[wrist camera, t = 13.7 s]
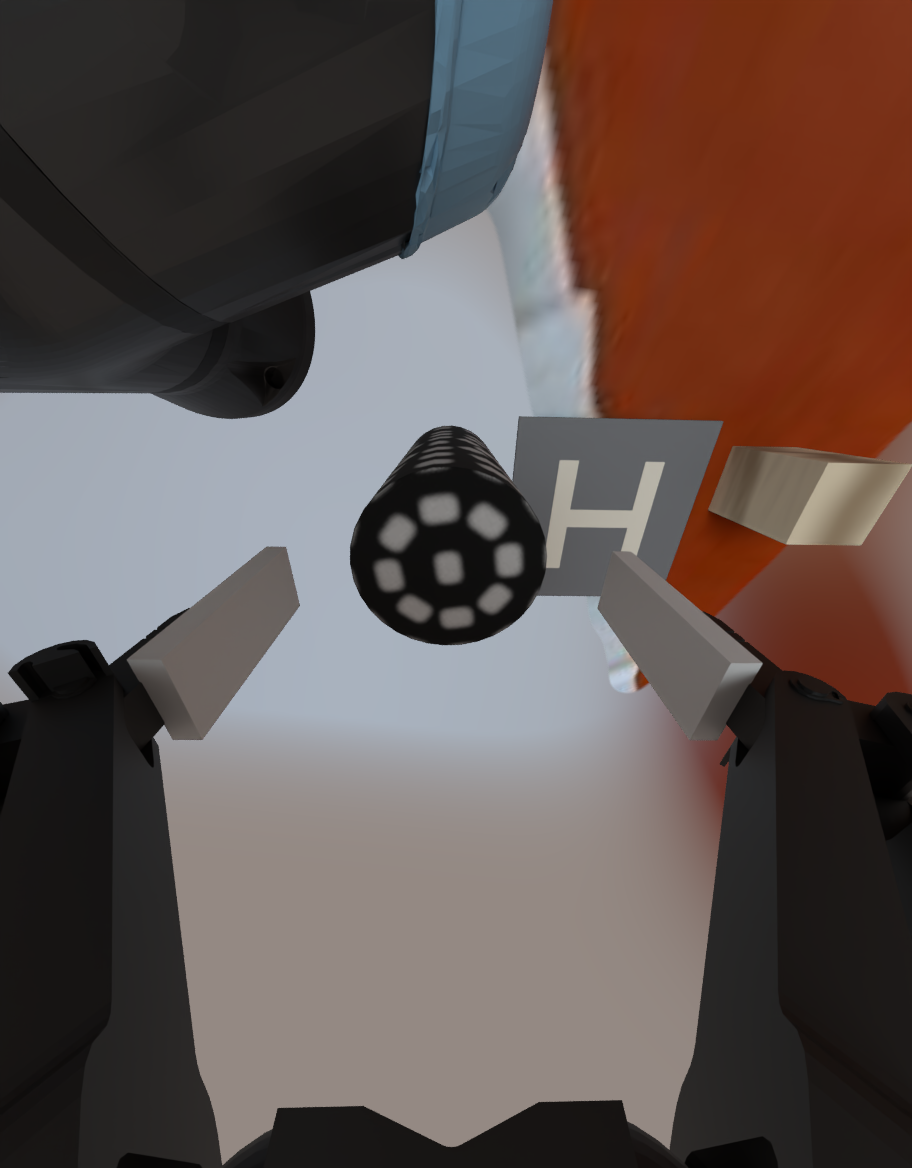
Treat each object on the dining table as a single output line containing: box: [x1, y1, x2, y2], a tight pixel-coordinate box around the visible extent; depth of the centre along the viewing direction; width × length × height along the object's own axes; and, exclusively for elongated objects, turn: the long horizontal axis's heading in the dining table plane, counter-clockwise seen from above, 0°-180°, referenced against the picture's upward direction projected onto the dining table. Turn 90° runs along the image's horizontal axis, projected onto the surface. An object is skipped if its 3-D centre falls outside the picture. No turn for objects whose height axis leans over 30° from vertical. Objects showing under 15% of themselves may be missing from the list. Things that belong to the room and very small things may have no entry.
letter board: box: [512, 417, 723, 596], centre depth 34 cm, size 18×18×1 cm
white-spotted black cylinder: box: [350, 426, 547, 645], centre depth 23 cm, size 8×8×20 cm
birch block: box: [708, 446, 912, 545], centre depth 29 cm, size 6×6×9 cm
